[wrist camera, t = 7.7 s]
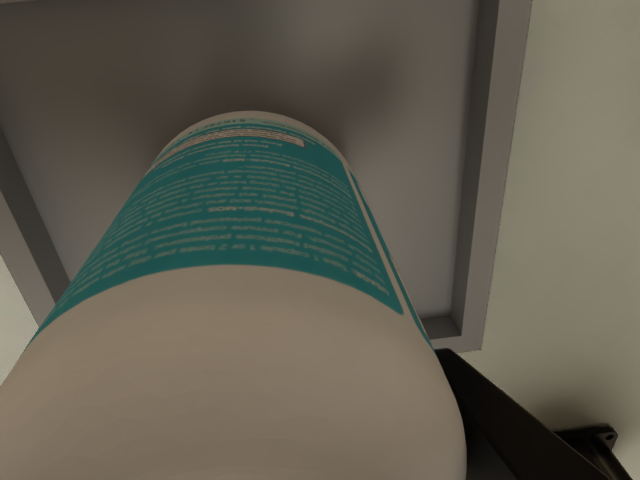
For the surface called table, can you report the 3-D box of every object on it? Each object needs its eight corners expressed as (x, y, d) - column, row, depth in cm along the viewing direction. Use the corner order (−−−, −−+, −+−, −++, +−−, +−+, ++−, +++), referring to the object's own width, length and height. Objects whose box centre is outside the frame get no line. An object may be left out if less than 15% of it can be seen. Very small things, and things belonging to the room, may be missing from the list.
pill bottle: (104, 210, 15) (-498, 966, 3) (250, 52, 13) (34, 558, 1) (261, 324, 18) (238, 923, 6) (400, 210, 16) (734, 784, 4)
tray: (510, -78, 13) (545, -88, 12) (464, 321, 21) (481, 349, 20) (-92, -27, 13) (-150, -31, 11) (94, 366, 21) (77, 401, 19)
